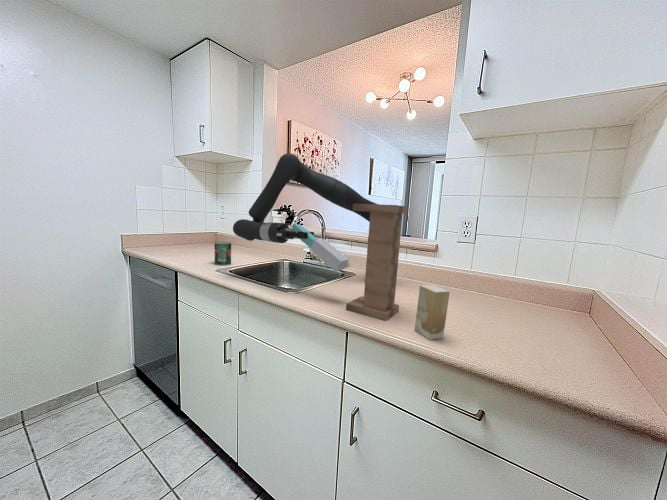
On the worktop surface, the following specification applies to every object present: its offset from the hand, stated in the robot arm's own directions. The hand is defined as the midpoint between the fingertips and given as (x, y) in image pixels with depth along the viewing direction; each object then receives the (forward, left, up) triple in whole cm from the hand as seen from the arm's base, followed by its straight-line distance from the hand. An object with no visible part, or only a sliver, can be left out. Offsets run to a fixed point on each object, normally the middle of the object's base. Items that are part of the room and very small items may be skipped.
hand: (310, 235), depth 95 cm
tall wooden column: (0, +25, -21) cm, 33 cm away
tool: (0, +2, -4) cm, 5 cm away
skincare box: (+6, +44, -21) cm, 49 cm away
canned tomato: (-10, -62, -21) cm, 67 cm away
